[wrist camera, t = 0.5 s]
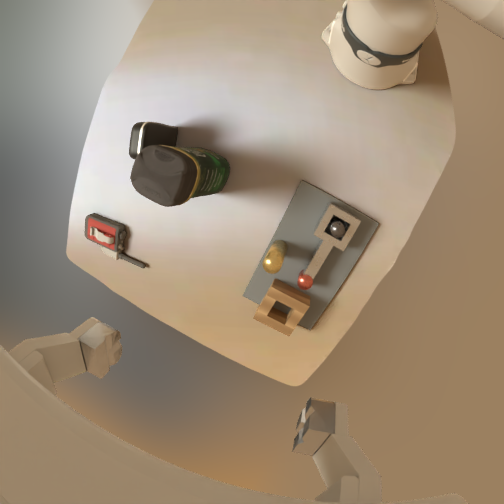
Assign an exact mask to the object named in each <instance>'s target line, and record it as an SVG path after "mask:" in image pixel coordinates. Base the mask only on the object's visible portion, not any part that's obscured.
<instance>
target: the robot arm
mask: <svg viewBox="0 0 504 504" xmlns="http://www.w3.org/2000/svg"><path fill="white" fill-rule="evenodd" d="M442 1H443V2H445V3H446V4H448V5H450V6H451V7H453V8H454V9H456V10H457V11H459V12H460V13H462V14H463V15H465V16H466V17H467V18H469V19H470V20H472V21H474V22H476V23H478V24H479V25H481V26H483V27H484V28H486V29H487V30H489V31H491V32H492V33H494V34H496V35H497V36H499V37H501V38H502V39H504V0H442ZM343 8H344V10H343V11H342V12H341V11H339V12H338V13H337V15H336V18H335V19H334V20H333V21H332V22H331V23H330V25H329V26H328V27H327V28H326V29H325V30H324V31H323V32H322V39H323V41H324V42H325V43H326V44H327V46H328V47H329V49H330V51H331V55H332V59H333V61H334V63H335V65H336V67H337V68H338V70H339V71H340V72H341V73H342V74H343V75H344V76H345V77H346V78H347V79H349V80H350V81H352V82H353V83H355V84H357V85H359V86H362V87H365V88H369V89H375V90H381V89H387V88H390V87H393V86H395V85H398V84H412V83H414V81H415V80H416V74H417V67H418V59H419V50H420V48H421V46H422V43H423V41H424V40H425V39H426V38H427V36H428V35H429V34H430V33H431V32H432V31H433V30H434V28H435V27H436V24H437V19H438V17H437V16H438V14H437V10H436V6H435V3H434V1H433V0H346V1H345V2H344V4H343ZM330 31H331V32H330ZM411 73H412V74H411ZM120 339H121V335H120V332H119V331H118V330H116V329H114V328H112V327H110V326H108V325H107V324H105V323H103V322H101V321H99V320H97V319H95V318H94V317H92V318H89V319H88V320H86V321H85V322H84V323H83V324H81V325H80V326H79V327H77V328H76V329H75V330H73V331H72V332H71V333H70V334H68V333H63V334H57V335H51V336H45V337H39V338H33V339H26V340H24V341H23V342H21V343H20V344H19V345H17V346H16V347H15V348H13V349H12V350H11V351H9V352H7V351H5V349H4V348H3V347H2V346H1V345H0V504H468V502H467V501H465V499H464V498H462V497H461V496H460V495H459V494H455V493H454V494H447V495H442V496H436V497H430V498H424V499H417V500H408V501H398V502H382V489H381V476H380V474H379V473H378V472H377V470H376V469H375V467H374V466H373V465H372V463H371V462H370V461H369V459H368V458H367V457H366V455H365V454H364V453H363V451H362V450H361V448H360V447H359V446H358V444H357V443H356V442H355V440H354V439H353V437H351V436H348V406H347V404H343V403H337V402H332V401H326V400H321V399H316V398H309V400H308V401H307V403H306V408H305V409H303V410H302V412H301V414H300V416H299V419H298V422H297V427H296V431H297V433H298V434H297V436H296V437H295V439H294V444H293V450H292V451H293V452H296V453H300V454H305V455H310V456H312V457H313V460H314V462H315V464H316V466H317V468H318V470H319V472H320V474H321V476H322V478H323V480H324V482H325V485H326V487H327V490H326V491H324V492H323V493H322V494H320V495H319V496H317V497H316V498H315V501H313V500H304V499H297V498H290V497H284V496H278V495H273V494H268V493H263V492H258V491H253V490H250V489H246V488H241V487H238V486H234V485H231V484H227V483H224V482H220V481H217V480H214V479H211V478H208V477H205V476H202V475H199V474H196V473H194V472H191V471H188V470H186V469H183V468H181V467H178V466H175V465H173V464H171V463H168V462H166V461H164V460H162V459H160V458H157V457H155V456H153V455H151V454H149V453H147V452H145V451H143V450H141V449H138V448H137V447H135V446H133V445H131V444H129V443H127V442H125V441H124V440H122V439H120V438H118V437H116V436H115V435H113V434H111V433H110V432H108V431H106V430H105V429H103V428H101V427H100V426H98V425H97V424H95V423H93V422H92V421H90V420H89V419H87V418H86V417H84V416H83V415H81V414H80V413H78V412H77V411H76V410H74V409H73V408H71V407H70V406H69V405H67V404H66V403H65V402H63V401H62V400H60V399H59V398H58V397H57V396H55V395H56V394H57V391H56V388H55V386H54V384H53V383H56V382H59V381H61V380H64V379H67V378H70V377H73V376H76V375H79V374H82V373H84V372H86V371H88V372H90V373H91V374H93V375H95V376H97V377H99V378H100V379H102V378H103V377H104V375H105V374H106V373H107V372H108V371H109V370H110V366H111V365H114V364H116V363H117V362H118V361H119V359H120V357H121V353H122V345H121V344H120V342H119V340H120Z"/></svg>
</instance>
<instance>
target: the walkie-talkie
mask: <svg viewBox="0 0 504 504" xmlns="http://www.w3.org/2000/svg"><path fill="white" fill-rule="evenodd" d="M85 236H86V238H87V239H89V240H91V241H93V242H95V243H97V244H99V245H100V247H101V249H102V250H103V252H104V253H105V254H106V255H108V256H110V257H113V258H114V259H116V260H118V259H119V258H120V259H124V260H126V261H128V262H130V263H132V264H135V265H137V266H139V267H141V268H145V264H143V263H141V262H139V261H136V260H134V259H132V258H130V257H127V256H125V255H124V254H122V253H121V250H124V248H125V247H123V241H124V238H125V237H126V231H125V226H124V225H122V224H120V223H117V222H115V221H113V220H110V219H108V218H105V217H102V216H100V215H98V214H95V213H93V214H90V215H88V216H87V217H86V219H85Z"/></svg>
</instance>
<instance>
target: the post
mask: <svg viewBox="0 0 504 504" xmlns="http://www.w3.org/2000/svg"><path fill="white" fill-rule="evenodd" d="M330 230H331V234H332V235H333V236H334V237H336V238H340V237H342V236H343V235H344V234H345V227H344V225H343V222H342V220H341V219H340V218H338V217H334V218H332V219H331V220H330Z"/></svg>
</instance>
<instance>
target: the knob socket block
mask: <svg viewBox="0 0 504 504" xmlns="http://www.w3.org/2000/svg"><path fill="white" fill-rule="evenodd" d="M333 215H335V216H337V217H339V218H341V219H342V220H344V221H346V222H348V223H347V225H346V227H345V234H344V235H343V236H342V237H340V238H336V237H334V236H333V235H332V234H331V232H330V231H328V230H327V229H326V227H327V225H328V224H329V222H330V220H331V218H332V216H333ZM360 222H361V221H360V219H359V218H358V217H356V216H354V215H353V214H351V213H349V212H347V211H346V210H344V209H342V208H340V207H339V206H337V205H335V204H333V203H331V202H330V201H329V203H328V205H327V207H326V209H325V211H324V213H323V214H322V216H321V218H320V220H319V222H318V224H317V225H316V227H315V229H314V235H315V236H317V237H318V238H320V239H322V240H321V241H320V243H319V245H318V247H317V248H316V250H315V252H314V254H313V255H312V257H311V259H310V260H309V262H308V264H307V266H306V267H305V269H304V270H302V271H300V273H299V276H298V282H297V284H298V287H299V288H300V289H302V290H308V289H310V288H311V287H312V285H313V279H314V277H315V276H316V274H317V272H318V271H319V269H320V267H321V266H322V264H323V263H324V261H325V259H326V258H327V256H328V254H329V252H330V251H331V249H332V247H333V246H335V247H337V248H339V249H340V250H342V251H344V250H345V248H346V246H347V245H348V243H349V241H350V240H351V238H352V236H353V235H354V233H355V231H356V229H357V228H358V226H359V224H360Z"/></svg>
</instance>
